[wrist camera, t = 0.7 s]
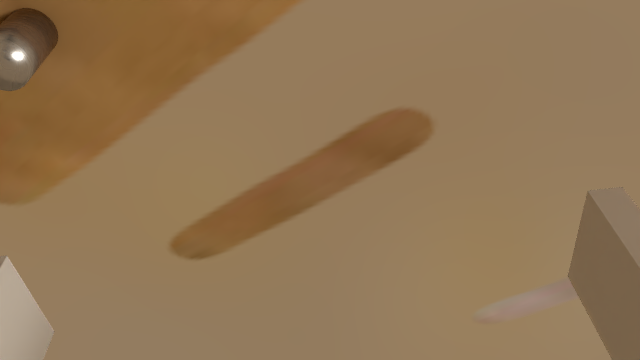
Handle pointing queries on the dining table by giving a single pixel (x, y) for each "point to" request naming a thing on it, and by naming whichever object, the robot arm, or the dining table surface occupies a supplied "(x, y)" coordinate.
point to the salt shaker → (24, 46)
